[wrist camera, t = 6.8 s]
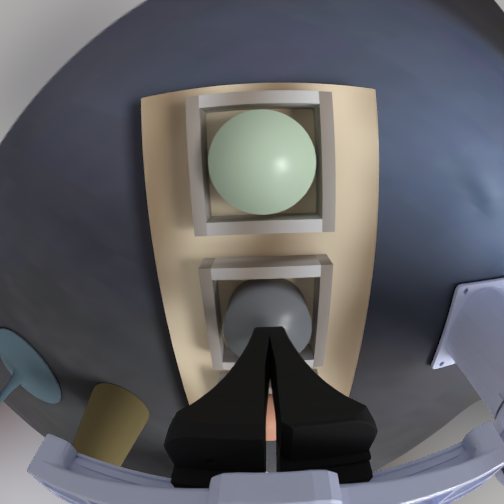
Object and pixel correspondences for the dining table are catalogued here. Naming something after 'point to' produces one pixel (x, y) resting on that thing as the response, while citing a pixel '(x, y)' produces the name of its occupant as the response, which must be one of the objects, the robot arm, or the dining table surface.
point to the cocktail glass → (27, 369)
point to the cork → (110, 424)
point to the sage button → (262, 162)
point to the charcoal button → (266, 312)
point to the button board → (263, 223)
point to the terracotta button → (270, 420)
